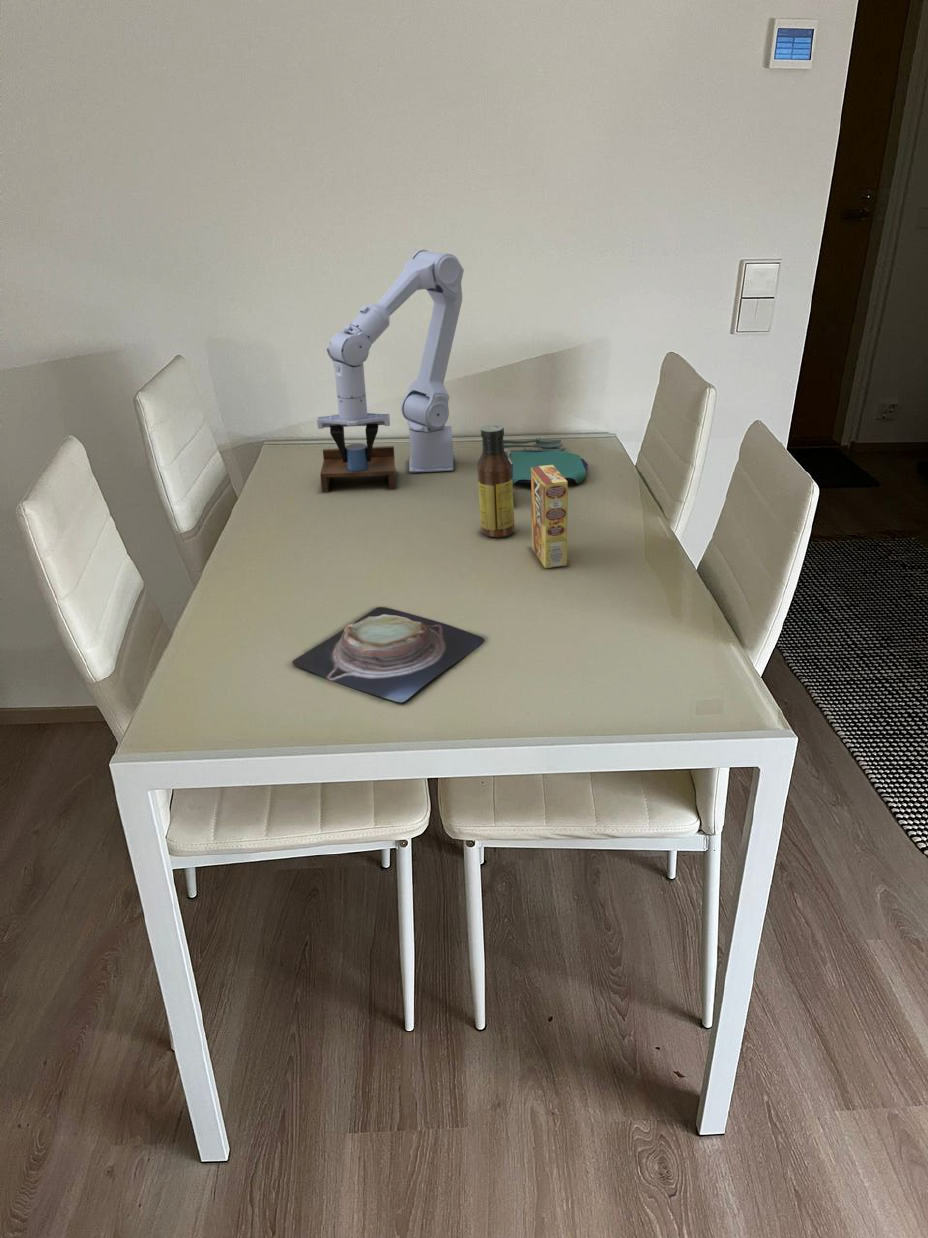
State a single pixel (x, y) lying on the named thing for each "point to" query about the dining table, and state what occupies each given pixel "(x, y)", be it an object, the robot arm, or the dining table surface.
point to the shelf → (378, 465)
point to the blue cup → (356, 457)
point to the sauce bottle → (495, 484)
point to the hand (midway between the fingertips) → (356, 460)
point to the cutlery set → (545, 460)
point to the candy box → (549, 515)
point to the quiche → (389, 653)
